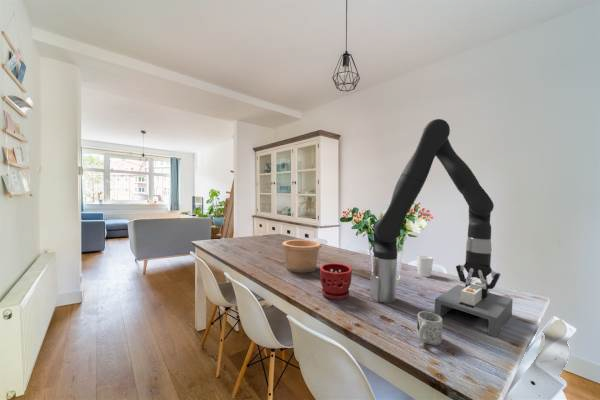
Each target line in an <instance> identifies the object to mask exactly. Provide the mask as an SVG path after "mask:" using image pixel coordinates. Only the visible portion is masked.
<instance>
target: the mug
mask: <svg viewBox="0 0 600 400" xmlns="http://www.w3.org/2000/svg"><path fill="white" fill-rule="evenodd" d="M416 323H417V324H416V325H417V327H416V328H417V329H416V338H417V339H418V340H419V341H418V342H420V343H425V344H426V345H432V346H438V345H441V344H442V340H443V338H442V337H443V336H442V335H443V317H440V316H439V315H437V314H434V312H430V311H419V312H418V313H417V322H416Z"/></svg>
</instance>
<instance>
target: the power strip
mask: <svg viewBox="0 0 600 400" xmlns="http://www.w3.org/2000/svg"><path fill="white" fill-rule="evenodd" d="M487 282H488V285H489V284H490V283H491V281H487ZM482 288H483V287H482V283H481V281H480V279H479V278H477V279H476V280H475V281H474V282H471V283H470V285H469V286H467V287H466V288H464V289H463V290H461V302H463V303H466V305H465V306H468V307H471V308H474V307H473V306H475V305H476V304H477V303H478V302H479V301H480V300H481V299H482ZM488 293H491V289H488Z"/></svg>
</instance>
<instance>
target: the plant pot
mask: <svg viewBox="0 0 600 400" xmlns="http://www.w3.org/2000/svg"><path fill="white" fill-rule="evenodd" d="M319 269H320V271H319V275H320V284H321V287H322V288H321V293H322V295H323V296H324V297H326V298H327V299H331V300H344V299H346V298H348V297H349V295H350V291H349V288H350V286H351V285H352V275H353V272H352V271H353V269H352V268H351V267H350V266H348V265H346V264H343V263H334V262H333V263H324V264H323V265H321V266H320V268H319ZM331 270H332V271H331Z"/></svg>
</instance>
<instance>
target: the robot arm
mask: <svg viewBox="0 0 600 400" xmlns="http://www.w3.org/2000/svg"><path fill="white" fill-rule="evenodd" d="M450 131H451V129H450V124H449V123H448V122H447V121H446V120H445V119H442V118H436V119H432V120H431V121H430V122H428V123H427V124H426V125H425V127H424V128H423V130H422V134H421V137H420V138H419V142H418V145H417V146H416V149H415V151H414V153H413V154H412V156H411V157H410V159H409V160H408V162H407V163H406V165H405V167H404V169H403V170H402V172H401V174H400V176H399V178H398V180H397V182H396V184H395V187H394V189H393V192H392V196H391V201H390V203H389V205H388V207H387V210H386V211H385V212H384V214H383V216H382V217H381V218H379V219H377V221H375V224H374V227H373V258H372V259H373V262H372V264H373V265H372V273H370V288H369V297H371V298H372V299H373V300H375V302H377V303H380V302H381V303H389V304H391V303H394V302H396V294H397V292H396V291H397V267H398V265H397V264H398V250H397V249H398V247H397V241H398V240H397V239H398V237H399V236H400V232H401V230H402V226H403V224H404V223H405V220H406V217H407V216H408V215H407V214H408V213H409V211H410V209H412V206H413V205H414V203H415V201H416V199H417V198H418V195H420V192H421V191H422V189H423V187H424V186H425V185H424V184H425V183H426V181H427V178H428V176H429V173H430V171H431V168H432V165H433V162H434V161H435V158H437V159H438V160H439V162H440V163H441V164H442V166H443V168H444V169H445V171H446V173H447V174H448V176H449V178H450V179H451V181H452V182H453V184H454V186H455V187H456V189H457V190H458V191H459V193H460V194H461V195H462V197H463V199H464V200H465V202H466V204H467V205H468V226H467V240H466V243H465V244H466V246H465V263H464V264H458V265H456V266H455V268H456V271H457V275H458V277H459V281H460V282H461V283H464V285H465V288H466V287H467V286H469V285H470V284H472V281H473V278H477V279H479V280H480V281H481V283H482V287H483V288H482V299H485V298H486V297H487V295H488V289H490V290H493V289H494V288H495V287H496V285H497V283H498V281H499V279H500V277H501V273H500V272H496V271H494V270H493V269H492V267H491V262H492V261H491V259H492V225H491V213H492V212H493V210H494V202H493V200H492V198H491V197H490V195H488V193H487V192H486V190H485V189H484V188H483V187H482V186H481V183H480V182H479V180H478V178H477V177H476V175H475V174H474V173H473V171H472V169H471V168H470V167H469V165H468V164H467V163H466V162H465V161H464V160H463V159H462V158H461V157H460V156H459V155H458V154H457V153H456V151H455V149H454V148H453V146H452V144H451V143H450V139H449V137H450V134H451V133H450ZM464 270H465V271H466V272H467V276H465V273H464ZM488 275H491V278H492V280H491V281H490V284H489V285H488V282H489V281H488V277H487V276H488Z"/></svg>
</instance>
